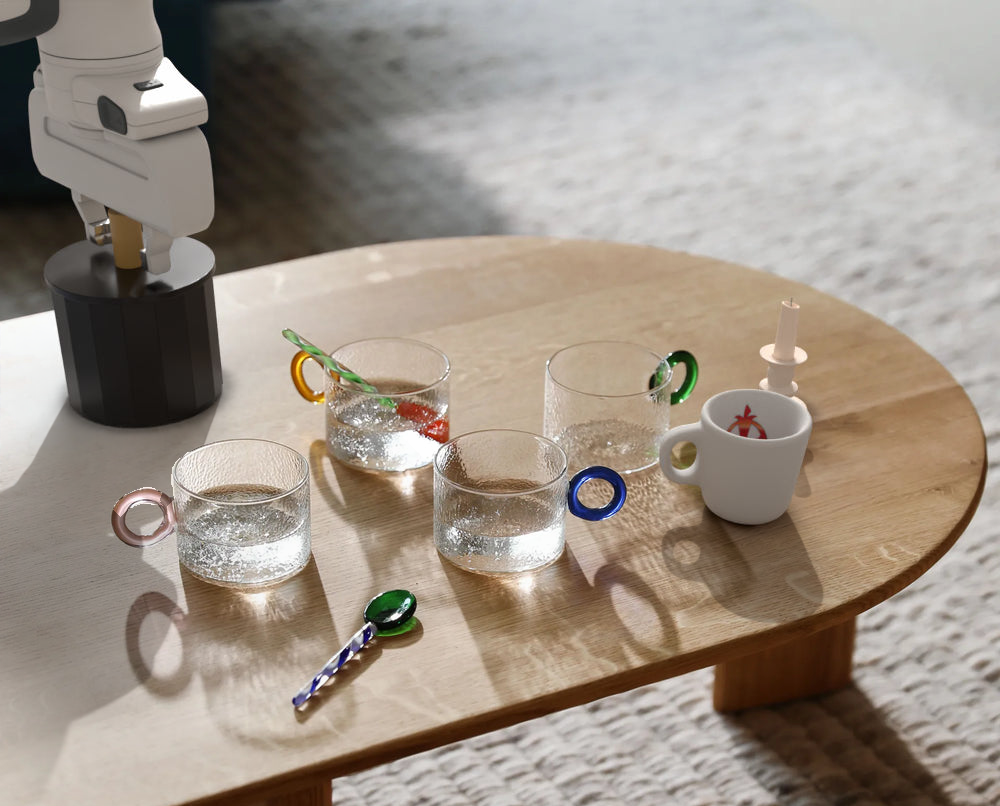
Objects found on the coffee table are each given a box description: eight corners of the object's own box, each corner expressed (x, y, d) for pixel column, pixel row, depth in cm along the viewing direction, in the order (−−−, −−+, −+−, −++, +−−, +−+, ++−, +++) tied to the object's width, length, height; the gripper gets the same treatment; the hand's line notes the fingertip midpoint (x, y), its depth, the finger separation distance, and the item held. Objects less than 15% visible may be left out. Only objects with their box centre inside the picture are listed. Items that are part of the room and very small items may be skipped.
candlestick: (786, 392, 120) (803, 280, 115) (818, 421, 116) (837, 306, 111) (732, 401, 119) (747, 288, 113) (762, 430, 115) (779, 315, 109)
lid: (43, 253, 116) (32, 187, 113) (205, 238, 120) (199, 173, 117) (49, 321, 106) (36, 250, 102) (227, 302, 109) (220, 233, 106)
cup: (661, 537, 101) (670, 441, 97) (647, 478, 108) (655, 387, 104) (808, 536, 102) (824, 441, 97) (786, 478, 108) (799, 387, 104)
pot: (66, 366, 122) (46, 248, 116) (212, 350, 125) (200, 234, 119) (73, 437, 112) (52, 311, 106) (231, 417, 115) (220, 294, 109)
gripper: (-4, 61, 108) (25, 230, 116) (146, 123, 96) (168, 307, 104) (68, 47, 112) (92, 211, 120) (221, 105, 100) (237, 283, 108)
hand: (128, 256), depth 112 cm, fingers open, 6 cm apart
